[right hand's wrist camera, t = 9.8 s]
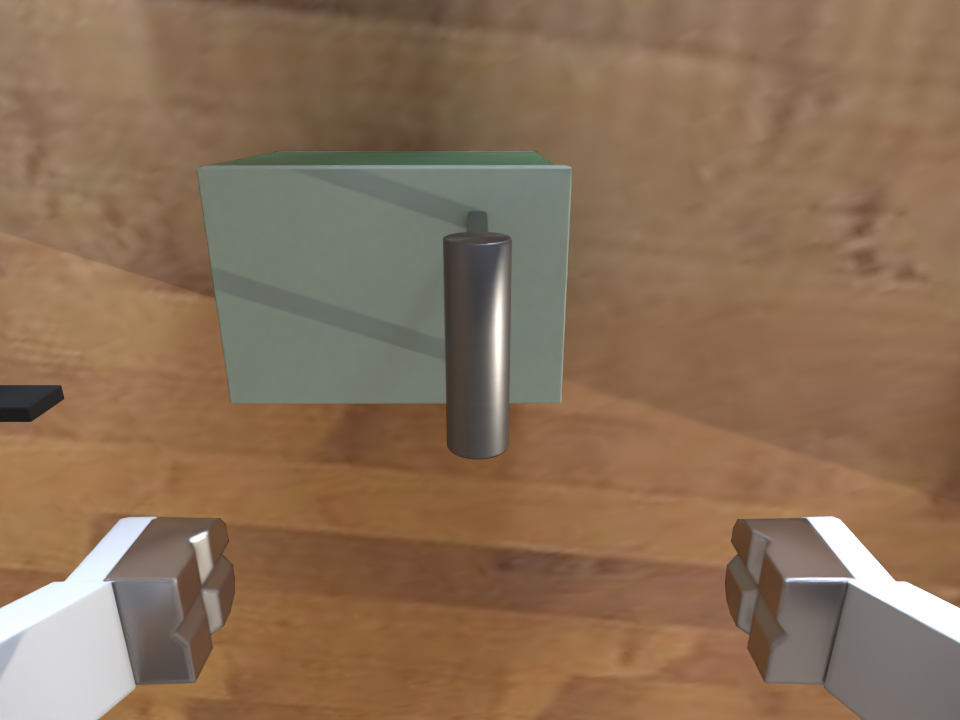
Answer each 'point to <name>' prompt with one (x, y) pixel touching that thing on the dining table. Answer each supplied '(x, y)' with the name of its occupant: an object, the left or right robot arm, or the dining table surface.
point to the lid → (393, 287)
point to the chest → (394, 158)
